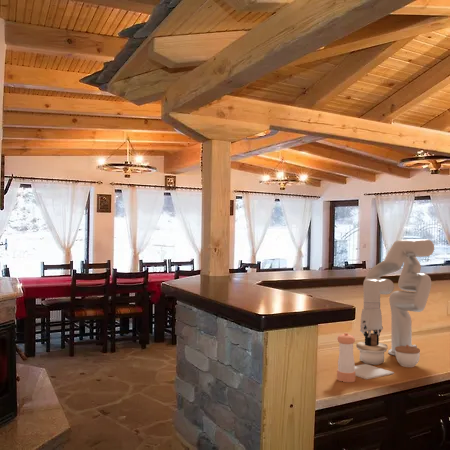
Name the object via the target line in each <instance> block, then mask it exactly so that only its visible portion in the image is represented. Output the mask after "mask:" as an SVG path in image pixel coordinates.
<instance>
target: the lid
mask: <svg viewBox="0 0 450 450" xmlns="http://www.w3.org/2000/svg"><path fill="white" fill-rule="evenodd" d="M370 337H371V346H367V345H365V341H359V342H356V348H357V349H358V348H359V349H363V350H369V351H383V350H386V351H387V350H389V347H388V344H385V343H382V342H379V345H377V334H374V333H373V332H372V333H371V334H370Z"/></svg>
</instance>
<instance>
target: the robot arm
mask: <svg viewBox="0 0 450 450" xmlns="http://www.w3.org/2000/svg"><path fill="white" fill-rule="evenodd" d="M434 250H435V244H434V243H433V240H430V239H427V238H425V239H424V238H423V239H420V238H419V239H418V238H417V239H416V238H415V239H412V238H410V239H397V240H396V241H394V242H393V244H392V246H391V247H390V250H389V251H388V252H387V254H386V257H385V258H384V260H382V261H380V262H379V263H377V264H376V265H375V266H373V267H372V268H370V270H369V271H368V272H367V274H366V276H365V278H364V280H363V285H362V286H363V308H362V310H361V316H360V330H359V331H360V332H361V334H362V335H363V337H364V342H365V345H367V346H371V337H370V334H371V332H372V333H374V334H377V345H379V343H380V342H379V341H380V339H379V337H380V334H381V332H382V331H383V330H384V327H383V318H382V317H383V316H382V309H381V295H389V294H390V295H389V298H388V301H389V306H390V312H391V313H390V314H391V315H390V316H391V335H390V336H391V348H390V349H387V350H388V351H387V352H388V354H390V355H391V356H392V355H393V356H395V357H396V355H395V347H397V346H406V345H409V346H410V347H416V348H418V346H417V344H413V343H412V341H413V340H412V337H413V336H412V335H413V334H412V317H411V315H410V313H409V312H414V313H421V312H423V311H424V309H426V306H427V302H428V299H429V296H430V293H431V289H432V280H431V279H432V278H431V276H430V275H428V274H427V273H422V272H421V270H422V265H421V263H420V262H419V260H418V258H421V257H430V256H431V255H432V254H433V253H434V252H435V251H434ZM401 268H402V270H401V272H400V275H399V278H398V282H397V283H398V284H397V286H398V288H399V289H400V290H395V291H394V289H395V284H394V281H392V280H391V279H389V278H383V276H386V275H389V274H393V273H395V272H398V271H400V269H401ZM381 277H382V278H381Z"/></svg>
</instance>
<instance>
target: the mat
mask: <svg viewBox="0 0 450 450" xmlns="http://www.w3.org/2000/svg"><path fill="white" fill-rule="evenodd" d="M354 371H355V377H358V378H360V379H364V380H370V379H374V378H375V379H376V378H379V377H385V376H389V375H394V374H395V372H394V371H390V370H388V369H384V368H382V367H376V366H375V365H374V366H373V365H372V364H366V363H362V364H358V365H355V368H354Z"/></svg>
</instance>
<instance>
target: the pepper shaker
mask: <svg viewBox="0 0 450 450" xmlns="http://www.w3.org/2000/svg"><path fill="white" fill-rule="evenodd" d="M337 342H338V343H339V345H338V347H339V348H338V350H339V351H338V353H339V354H338V360H337V371H336V372H337V373H336V380H337V381H339V382H342V381H343V383H354V382H355V381H356V376H355V371H354V368H355V366H356V365H355V357H354V343H355V342H356V338H355V337H354V335H352V334H349V333H348V332H344V333H342V334H339V335H338V336H337Z"/></svg>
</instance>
